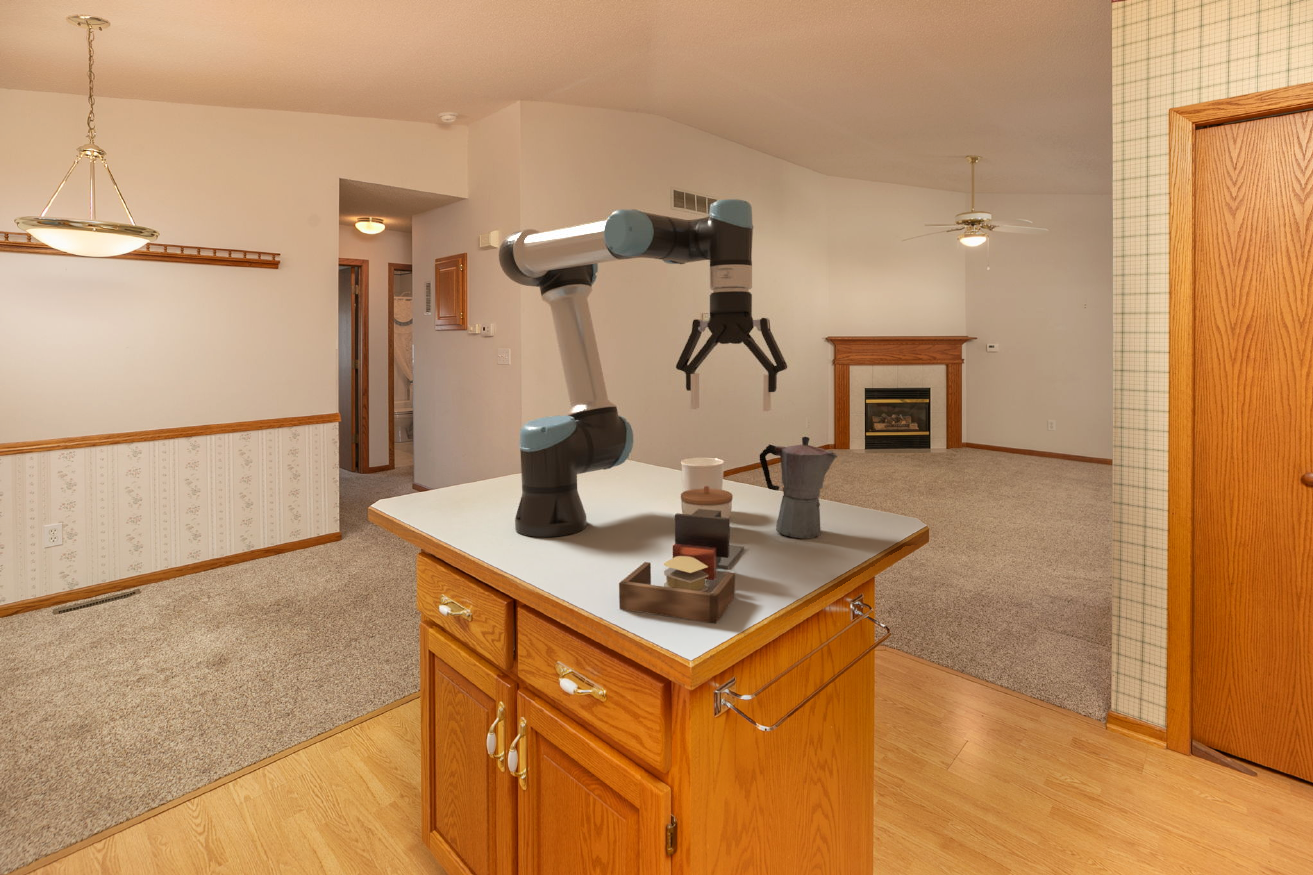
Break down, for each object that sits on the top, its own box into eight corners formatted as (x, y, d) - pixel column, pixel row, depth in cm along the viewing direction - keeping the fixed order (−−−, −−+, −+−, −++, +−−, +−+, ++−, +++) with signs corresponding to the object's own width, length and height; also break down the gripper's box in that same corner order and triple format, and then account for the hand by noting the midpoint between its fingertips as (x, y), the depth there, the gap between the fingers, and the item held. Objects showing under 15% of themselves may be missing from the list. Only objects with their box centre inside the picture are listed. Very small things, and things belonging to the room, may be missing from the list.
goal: (619, 608, 99) (619, 583, 98) (645, 585, 108) (644, 561, 108) (716, 623, 93) (716, 596, 93) (734, 597, 103) (734, 572, 102)
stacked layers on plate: (728, 598, 103) (728, 564, 102) (687, 615, 97) (686, 579, 96) (683, 581, 110) (683, 550, 110) (642, 596, 105) (642, 562, 104)
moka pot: (836, 541, 130) (839, 441, 127) (757, 538, 133) (758, 439, 130) (833, 528, 139) (836, 433, 136) (759, 525, 142) (760, 432, 139)
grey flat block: (694, 565, 117) (694, 561, 117) (713, 546, 128) (713, 543, 128) (727, 569, 115) (727, 565, 115) (743, 549, 126) (743, 546, 126)
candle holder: (731, 510, 154) (731, 459, 152) (711, 520, 146) (711, 467, 144) (694, 505, 159) (694, 456, 158) (673, 514, 151) (672, 463, 149)
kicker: (666, 574, 109) (666, 521, 107) (684, 557, 117) (684, 507, 116) (720, 581, 105) (720, 526, 104) (735, 562, 114) (735, 512, 113)
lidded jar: (718, 540, 132) (718, 494, 130) (671, 532, 137) (671, 488, 136) (740, 527, 141) (741, 484, 139) (696, 520, 146) (696, 479, 145)
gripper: (658, 292, 120) (659, 409, 123) (797, 287, 111) (794, 413, 114) (672, 295, 127) (673, 405, 130) (804, 290, 118) (802, 409, 121)
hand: (730, 409), depth 122 cm, fingers open, 13 cm apart
